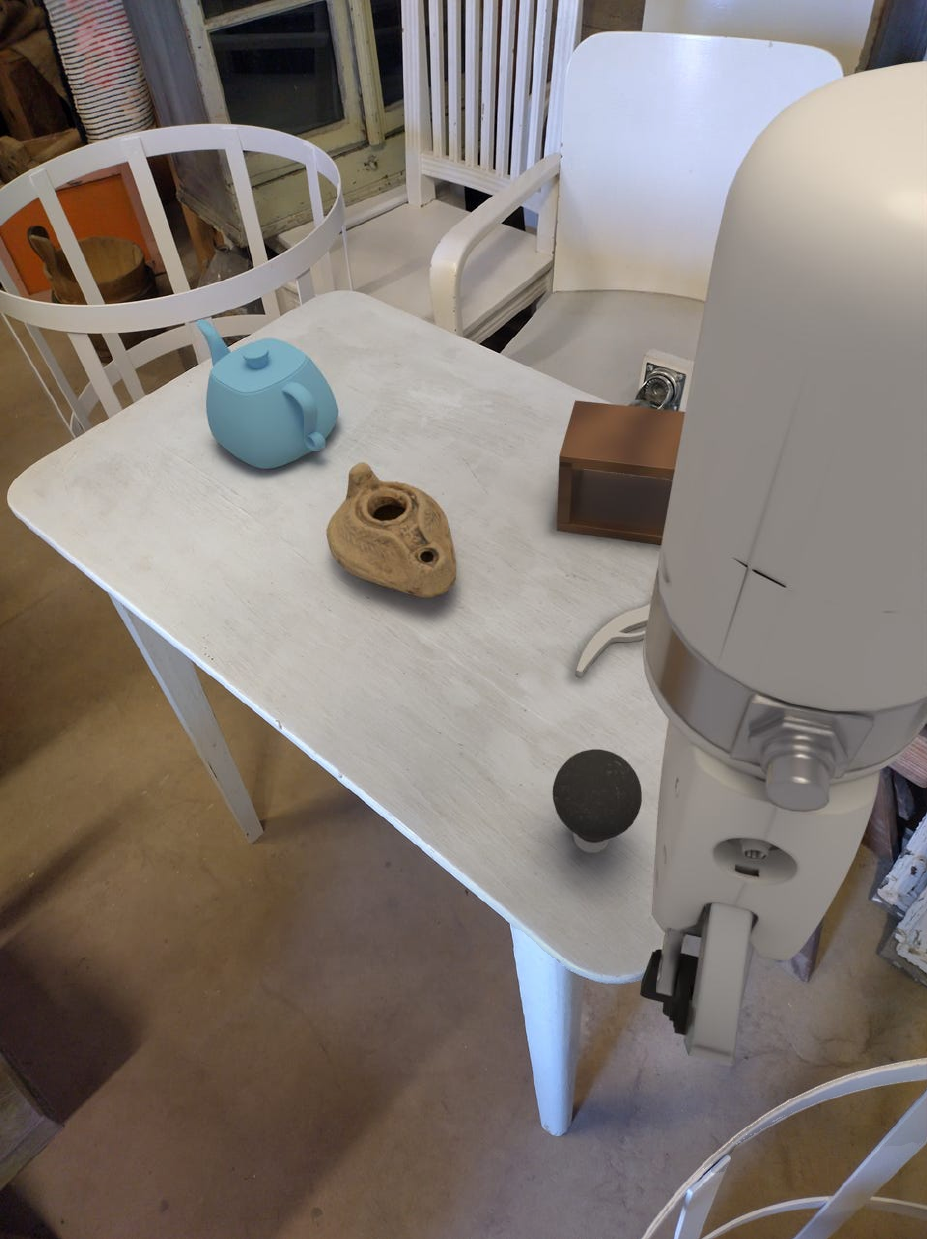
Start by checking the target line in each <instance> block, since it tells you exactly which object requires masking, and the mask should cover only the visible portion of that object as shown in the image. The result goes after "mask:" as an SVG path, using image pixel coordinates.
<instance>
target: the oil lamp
mask: <svg viewBox="0 0 927 1239" xmlns="http://www.w3.org/2000/svg"><path fill="white" fill-rule="evenodd" d="M347 482H348V483H347V491H346V494H345V495H346V496H345V499H344V500H343V502H342V503H341V504H340V506H339V507H338V509H336V511H335V512H334V514H332V516H331V518H330V520H329V522H328V524H327V527H326V529H325V530H326V531H325V533H326V539H327V543H328V547H329V549H330V552H331V555H332V557H333V558H334V559H335V561H337V563H338V564H339V565H340V566H341V567H342V568H343V569H345V571H347V572H349V573H350V574H352V575H354V576H356V577H358V578H359V579H360V578H361V579H362V580H365V581H368V582H371V583H373V584H376V585H379V586H383V587H387V588H389V589H393V590H396V591H399V592H402V593H405V594H409V595H413V596H417V597H421V598H432V597H436V596H440V595H442V594H445V593H446V592H448V591H449V590H450V589H451V588H452V587H453V585H454V584H455V582H456V581H457V561H456V554H455V548H454V543H453V539H452V535H451V529H450V524H449V520H448V518H447V517H448V516H447V514H446V513H445V511H444V510H443V509H442V507H441V506H440V505H439V503H438V502H437V501H436V500H435V499H434V498H433V497H432V496H430V495H429V494H428V493H427V492H426V491H423V490H421V489H420V488H419V487H415V486H414V485H410V484H409V483H406V482H400V481H397V480H396V481H395V480H394V481H383V480H380V479H379V478H378V476H377V475H376V474H375V472H374V471H373V470H372V468H371V467H370V465H369V464H368V463H366V462H364V461H361V462H359V463H356V464H355V465H354V466H352V467H351V469H350V470H349V472H348V480H347Z"/></svg>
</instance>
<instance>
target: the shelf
mask: <svg viewBox="0 0 927 1239" xmlns="http://www.w3.org/2000/svg"><path fill="white" fill-rule="evenodd" d="M684 416H685V411H682V410H670V409H664V408H663V409H661V408H652V407H642V406H633V405H623V404H613V403H605V402H595V401H594V402H593V401H584V400H574V403H573V406H572V410H571V412H570V417H569V421H568V425H567V428H566V431H565V433H564V438H563V441H562V446H561V448H560V452H559V455H558V456H559V457H558V459H559V460H558V478H557V479H558V480H557V504H556V508H557V509H556V530H555V531H558V532H567V533H574V534H581V535H589V536H595V537H602V538H608V539H609V538H610V539H615V540H616V539H617V540H624V541H631V542H638V543H646V544H654V545H660V546H661V544H662V538H663V533H664V527H665V522H666V516H667V511H668V505H669V499H670V494H671V488H672V483H673V477H674V472H675V466H676V460H677V455H678V449H679V444H680V438H681V433H682V427H683V422H684Z"/></svg>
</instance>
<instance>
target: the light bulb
mask: <svg viewBox="0 0 927 1239" xmlns="http://www.w3.org/2000/svg"><path fill="white" fill-rule="evenodd" d="M642 793H643V792H642V784H641V781H640V779H639V776H638V775H637V771H635V770H634V768H633V766H631V764H630V763H629V762H628V761H627V760H626V759H624V758H623V757H621V755H619V754H616V753H614V752H613V751H609V750H606V749H597V748H596V749H595V748H592V749H588V750H582V751H580V752H578V753H575V754H573V755H572V756H570V757H569V758H568V759H567V760H565V761H564V763H563V764H562V765H561V766H560V768H559V770H558V771H557V773H556V776H555V778H554V781H553V785H552V801H553V805H554V808H555V812H556V814H557V816H558V818H559V819H560V821H561V822H562V823H563V825H564V826H566V828H567V829H568V830H569V831H571V832H572V834H573V835H572V836H573V839H574V842H575V844H576V845H577V847H578V848H579V849H580V850H582V851H584V852H585V853H591V854H593V853H599V852H601V851H602V850H604V849H605V848H606V846H607V845H608V843H609V841H610V840H611V839H614V838H616V837H618V836H619V835H621V834H623V833H625V832H626V831H627V830H628V829H629V828H631V826H632V825H633V823H634V822H635V820H636V819H637V818H638V815H639V814H640V811H641V807H642V803H643V801H642V800H643V794H642Z"/></svg>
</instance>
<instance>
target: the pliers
mask: <svg viewBox="0 0 927 1239" xmlns="http://www.w3.org/2000/svg"><path fill="white" fill-rule="evenodd" d="M650 605H651V602H650V603H648V604H646V605H644V606H643V607H639V608H635V609H631V610H627V611H625V612H624V613H621V614H619V615H618V616H616V617H615V618H613V619H612V620H610V621H608V623H606V624H605V625H604V626H602V627H601V628H600V629H599V630H598V631H597V632H596V633H595V634H594V636H593V637H592V638H591V639H590V641H588V643H587V645H586V646H585V648H584V650H583V651H582V653H581V656H580V658H579V661H578V663H577V667H576V671H575V676H577V677H579V678H583V676H584V674H585V673H586V672H587V670H588V669H589V668H590V666H591V665H592V664H593V662H594V661H595V660H596V659H597V657H598V656H599V655H600V654H601V653H602V652H603V651H604V650H605V649H606V648H607V647H609V646H610V645H611V644H614V643H634V642H639V641H642V640H644V636H645V631H646V629H645V630H643V631H640V632H633V633H627V632H631V631H633V630H636V629H639V628H641V627H646V626H647V622H648V616H649V611H650Z"/></svg>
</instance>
